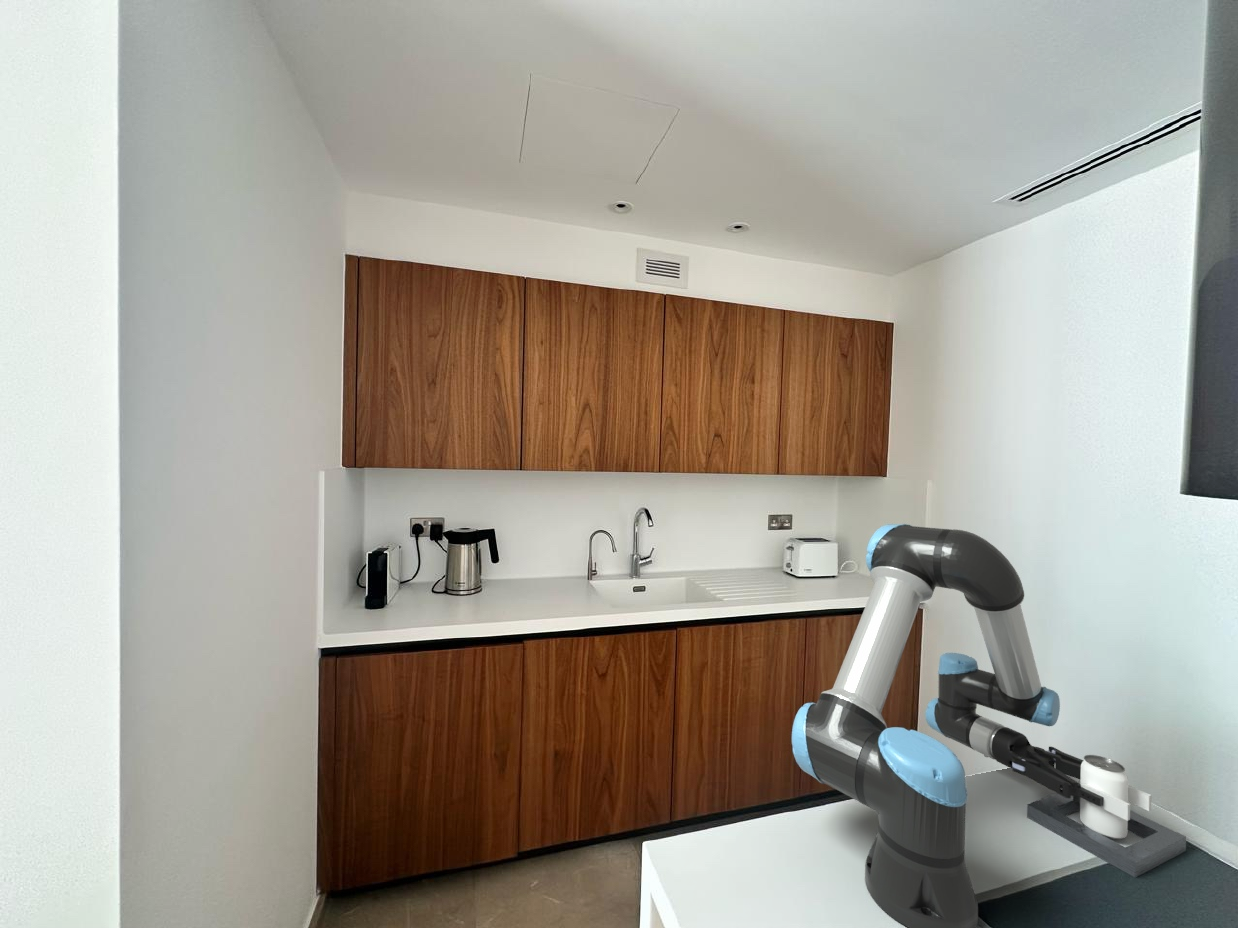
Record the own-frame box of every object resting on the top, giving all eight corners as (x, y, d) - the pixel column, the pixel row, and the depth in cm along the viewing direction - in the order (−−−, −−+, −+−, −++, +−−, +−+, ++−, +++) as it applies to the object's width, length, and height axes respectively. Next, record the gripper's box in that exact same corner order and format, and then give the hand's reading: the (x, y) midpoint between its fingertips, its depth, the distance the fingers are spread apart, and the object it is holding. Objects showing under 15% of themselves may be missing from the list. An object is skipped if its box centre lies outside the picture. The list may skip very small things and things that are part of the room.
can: (1137, 842, 93) (1138, 775, 93) (1094, 836, 94) (1095, 770, 94) (1110, 819, 99) (1111, 755, 99) (1071, 813, 100) (1072, 751, 101)
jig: (1135, 877, 86) (1135, 862, 86) (1027, 817, 101) (1027, 804, 101) (1185, 850, 93) (1186, 836, 93) (1077, 797, 107) (1077, 785, 107)
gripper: (1027, 752, 117) (1167, 816, 96) (970, 769, 109) (1109, 843, 88) (1028, 718, 117) (1167, 774, 96) (971, 733, 109) (1109, 798, 88)
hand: (1139, 807), depth 92 cm, fingers closed on can, 6 cm apart
